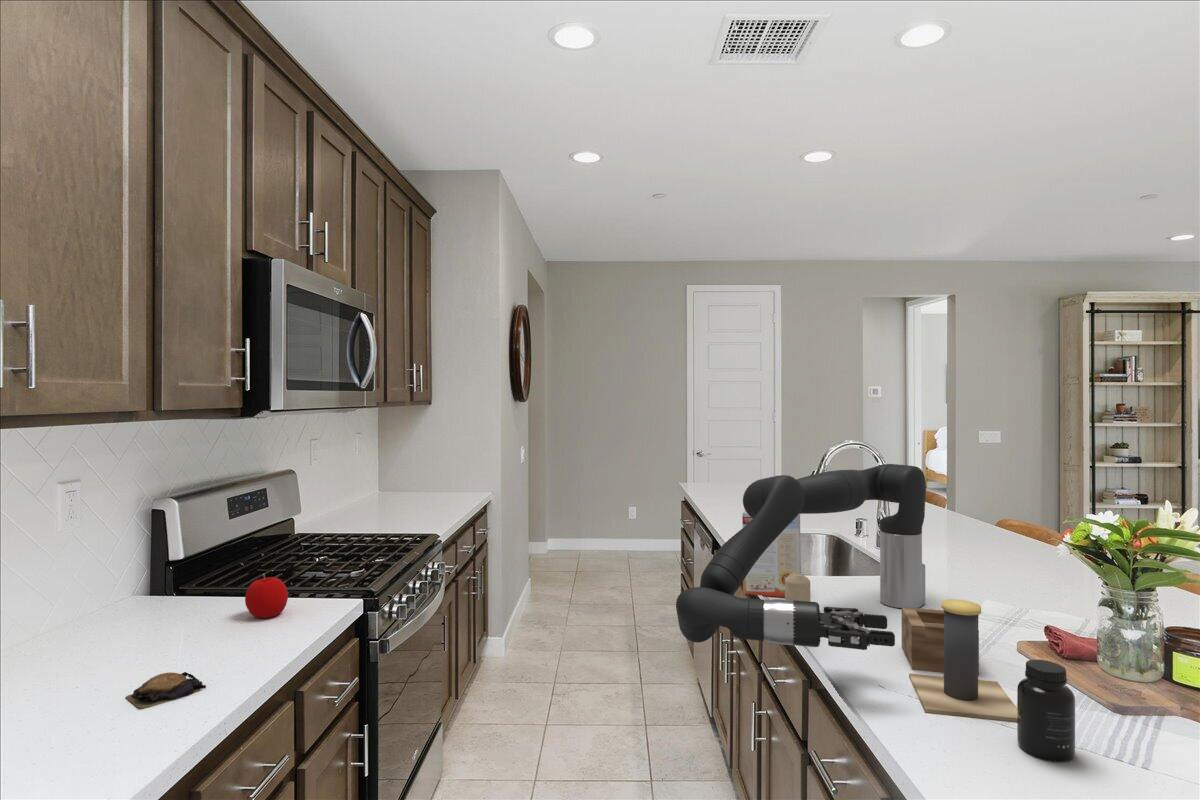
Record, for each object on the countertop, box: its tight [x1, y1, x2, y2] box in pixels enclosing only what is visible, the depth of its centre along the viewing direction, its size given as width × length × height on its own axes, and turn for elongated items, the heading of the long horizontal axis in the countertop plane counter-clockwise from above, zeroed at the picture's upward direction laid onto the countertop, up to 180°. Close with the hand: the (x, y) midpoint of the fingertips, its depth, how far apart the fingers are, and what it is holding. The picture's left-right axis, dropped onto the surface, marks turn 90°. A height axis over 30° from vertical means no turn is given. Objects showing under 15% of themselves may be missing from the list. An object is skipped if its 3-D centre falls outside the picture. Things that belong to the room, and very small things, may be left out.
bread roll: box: [125, 671, 207, 711], centre depth 116 cm, size 11×8×4 cm
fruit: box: [244, 573, 289, 619], centre depth 156 cm, size 9×9×10 cm
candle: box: [784, 572, 811, 602], centre depth 152 cm, size 6×6×10 cm
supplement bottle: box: [1016, 659, 1076, 763], centre depth 95 cm, size 7×7×12 cm
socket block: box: [901, 607, 980, 676], centre depth 128 cm, size 11×11×8 cm
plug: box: [940, 599, 982, 701], centre depth 112 cm, size 6×6×15 cm
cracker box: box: [741, 509, 802, 598], centre depth 171 cm, size 14×6×21 cm, turn 71°
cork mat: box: [908, 673, 1017, 723], centre depth 112 cm, size 14×14×1 cm
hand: (890, 630), depth 115 cm, fingers open, 8 cm apart
